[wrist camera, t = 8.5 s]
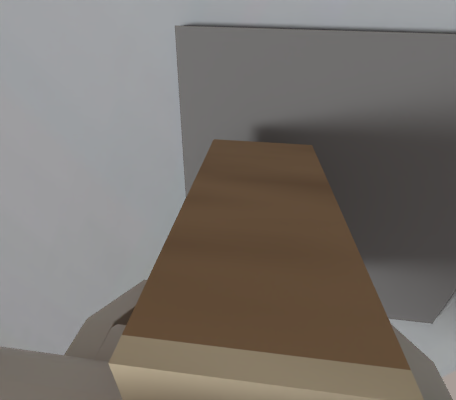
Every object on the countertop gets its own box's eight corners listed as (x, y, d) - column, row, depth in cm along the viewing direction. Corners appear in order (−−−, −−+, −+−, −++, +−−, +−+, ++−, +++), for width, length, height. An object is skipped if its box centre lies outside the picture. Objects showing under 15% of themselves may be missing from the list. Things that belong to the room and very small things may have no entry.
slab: (285, 282, 15) (308, 536, 7) (214, 275, 15) (166, 511, 8) (311, 144, 11) (426, 405, 3) (213, 139, 11) (108, 363, 4)
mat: (427, 315, 18) (432, 323, 18) (194, 288, 20) (192, 295, 19) (611, 38, 10) (630, 39, 9) (178, 25, 11) (174, 25, 11)
